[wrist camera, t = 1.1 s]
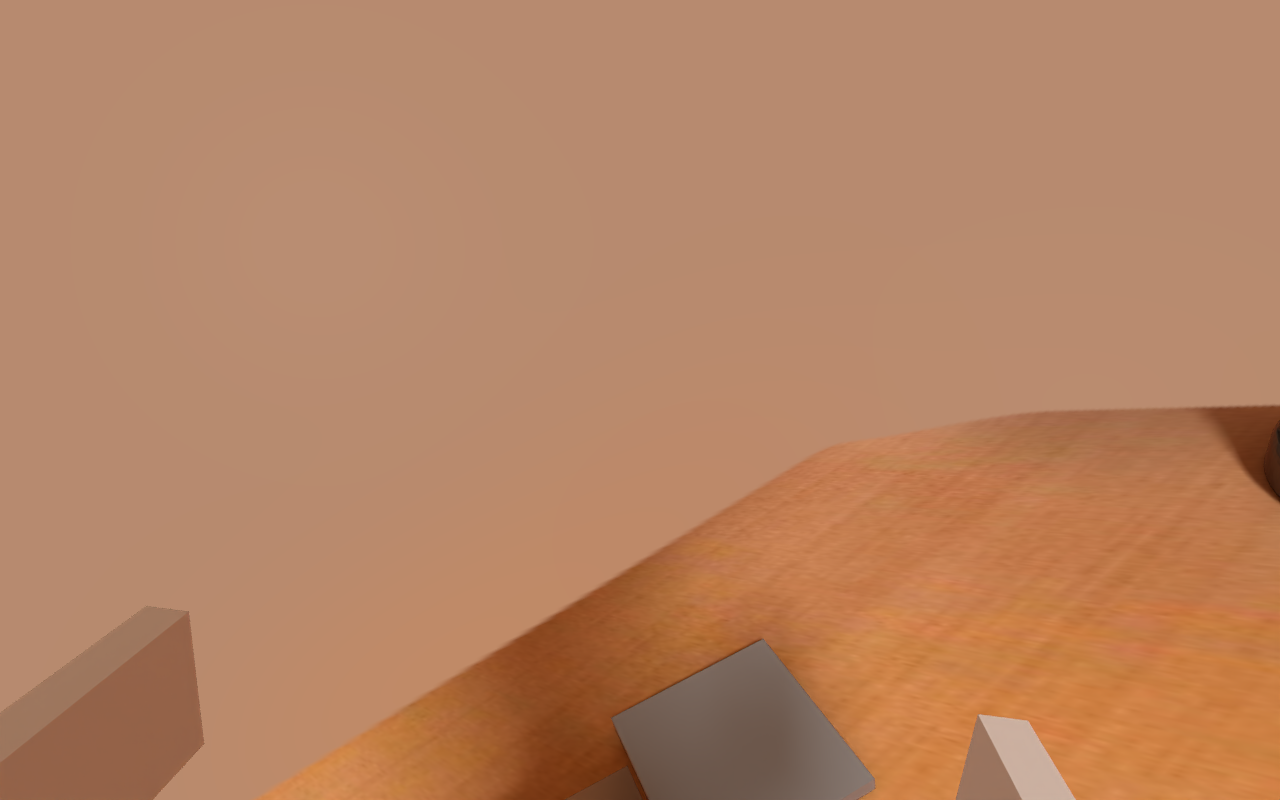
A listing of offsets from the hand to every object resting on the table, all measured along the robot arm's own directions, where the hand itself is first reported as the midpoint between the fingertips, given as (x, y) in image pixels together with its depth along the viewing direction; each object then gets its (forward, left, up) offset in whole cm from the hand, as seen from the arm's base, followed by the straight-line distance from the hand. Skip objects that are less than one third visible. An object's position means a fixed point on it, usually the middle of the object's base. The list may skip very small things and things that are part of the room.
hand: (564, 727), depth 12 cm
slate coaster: (-7, -14, -25) cm, 29 cm away
